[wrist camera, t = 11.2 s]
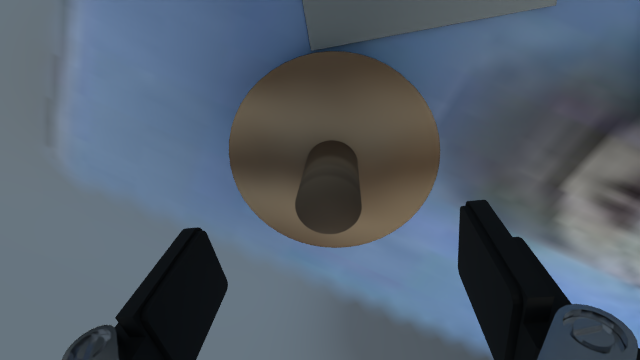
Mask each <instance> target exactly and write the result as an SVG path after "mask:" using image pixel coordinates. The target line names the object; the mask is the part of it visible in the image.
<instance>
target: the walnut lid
mask: <svg viewBox="0 0 640 360" xmlns="http://www.w3.org/2000/svg"><path fill="white" fill-rule="evenodd" d="M229 158H230V166H231V170H232V174H233V178H234V180H235V183H236V185H237V187H238V190H239V191H240V193H241V195H242V197H243V199H244V200H245V201H246V203H247V204H248V206H249V207H250V208H251V210H252V211H253V212H254V213H255V214H256V215H257V216H258V217H259V218H260V219H261V220H262V221H264V222H265V223H266V224H267V225H268V226H270V227H271V228H273V229H274V230H276V231H277V232H279V233H281V234H283V235H285V236H287V237H289V238H291V239H294V240H296V241H299V242H302V243H306V244H309V245H314V246H320V247H332V248H337V247H351V246H357V245H362V244H365V243H369V242H372V241H375V240H377V239H380V238H382V237H384V236H386V235H388V234H390V233H392V232H393V231H395V230H396V229H398V228H399V227H401V226H402V225H403V224H405V223H406V222H407V221H408V220H409V219H411V218H412V216H413V215H414V214H415V213H416V212H417V211H418V210H419V209H420V207H421V206H422V205H423V203H424V202H425V200H426V199H427V197H428V195H429V193H430V191H431V189H432V187H433V185H434V182H435V179H436V176H437V172H438V167H439V161H440V142H439V134H438V130H437V126H436V122H435V120H434V117H433V115H432V112H431V110H430V108H429V107H428V105H427V103H426V101H425V100H424V98H423V97H422V96H421V94H420V93H419V92H418V91H417V89H416V88H415V87H414V86H413V85H412V84H411V83H410V82H409V81H408V80H407V79H406V78H404V77H403V76H402V75H401V74H400V73H399V72H397V71H396V70H394V69H393V68H391V67H390V66H388V65H386V64H384V63H382V62H380V61H378V60H376V59H374V58H371V57H367V56H364V55H361V54H357V53H351V52H345V51H325V52H316V53H311V54H307V55H304V56H300V57H297V58H295V59H292V60H290V61H288V62H285V63H284V64H282V65H280V66H279V67H277V68H275V69H274V70H272V71H271V72H269V73H268V74H267V75H266V76H264V77H263V78H262V79H261V80H259V81H258V82H257V84H256V85H255V86H254V87H253V88H252V89H251V90H250V91H249V92H248V94H247V95H246V97H245V98H244V100H243V101H242V103H241V105H240V107H239V109H238V111H237V113H236V115H235V118H234V121H233V124H232V127H231V133H230V139H229Z"/></svg>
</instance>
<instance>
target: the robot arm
mask: <svg viewBox="0 0 640 360" xmlns="http://www.w3.org/2000/svg"><path fill="white" fill-rule="evenodd" d="M458 270H459V275H460V277H461V280H462V282H463V285H464V287H465V290H466V292H467V295H468V297H469V299H470V302H471V304H472V307H473V309H474V312H475V314H476V317H477V319H478V321H479V324H480V326H481V329H482V331H483V334H484V336H485V339H486V341H487V343H488V346H489V348H490V351H491V353H492V356H493V358H494V360H640V349H639V348H638V345H637V340H636V338H635V336H634V334H633V333H632V331H631V330H630V329H629V328H628V327H627V326H626V325H625V324H624V323H623V322H622V321H620V320H619V319H617V318H616V317H614V316H613V315H611V314H609V313H607V312H605V311H603V310H601V309H598V308H595V307H592V306H588V305H581V304H571V303H570V301H569V300H568V299H567V297H566V296H565V295H564V293H563V292H562V291H561V289H560V288H559V287H558V285H557V284H556V283H555V281H554V280H553V279H552V277H551V276H550V275H549V273H548V272H547V271H546V269H545V268H544V267H543V265H542V264H541V263H540V261H539V260H538V259H537V257H536V256H535V255H534V253H533V252H532V251H531V249H530V248H529V247H528V245H527V244H526V243H525V241H524V240H523V239H522V238H520V237H512V236H511V234H510V233H509V232H508V230H507V229H506V227H505V226H504V225H503V223H502V222H501V220H500V219H499V218H498V216H497V215H496V213H495V212H494V211H493V209H492V208H491V206H490V205H489V203H488V202H487V201H486V200H476V201H467V202H466V206H461V208H460V224H459V251H458ZM227 287H228V282H227V279H226V277H225V274H224V272H223V270H222V268H221V265H220V263H219V261H218V258H217V256H216V254H215V251H214V249H213V247H212V245H211V242H210V240H209V238H208V235H207V233H206V232H205V231H202V229H201V228H187V229H183V230H182V231H181V233H180V234H179V235H178V237H177V238H176V239H175V241H174V242H173V243H172V244H171V246H170V247H169V248H168V250H167V251H166V252H165V254H164V255H163V256H162V257H161V259H160V260H159V261H158V263H157V264H156V265H155V267H154V268H153V269H152V271H151V272H150V273H149V274H148V276H147V277H146V278H145V280H144V281H143V282H142V283H141V285H140V286H139V287H138V289H137V290H136V291H135V293H134V294H133V295H132V297H131V298H130V299H129V300H128V302H127V303H126V304H125V306H124V307H123V308H122V309H121V311H120V312H119V313H118V315H117V316H116V319H117V321H118V322H119V323H118V324H117V325H116V327H113V326H112V325H102V326H98V327H96V328H93V329H91V330H89V331H88V332H86V333H84V334H83V335H81V336H80V337H79V338H78V339H76V340H75V341H74V342H73V343H72V344H71V345H70V347H69V348H68V349H67V350H66V352H65V354H64V355H63V358H62V360H196V359H197V356H198V354H199V352H200V350H201V347H202V345H203V343H204V340H205V338H206V336H207V334H208V332H209V329H210V327H211V325H212V322H213V320H214V318H215V316H216V313H217V311H218V309H219V307H220V305H221V302H222V300H223V298H224V295H225V293H226V291H227Z"/></svg>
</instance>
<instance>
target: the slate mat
mask: <svg viewBox="0 0 640 360" xmlns="http://www.w3.org/2000/svg"><path fill="white" fill-rule="evenodd" d="M302 1H303V7H304V13H305V18H306V24H307V30H308V36H309V41H310V47H311V51H313V50H318V49H323V48H329V47H334V46H340V45H345V44H350V43H356V42H361V41H366V40H372V39H377V38H382V37H388V36H393V35H399V34H404V33H409V32H415V31H420V30H425V29H431V28H436V27H441V26H447V25H452V24H458V23H463V22H468V21H474V20H479V19H484V18H490V17H495V16H500V15H506V14H511V13H516V12H522V11H527V10H533V9H538V8H543V7H549V6H554V5H556V3H557V0H302Z"/></svg>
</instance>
